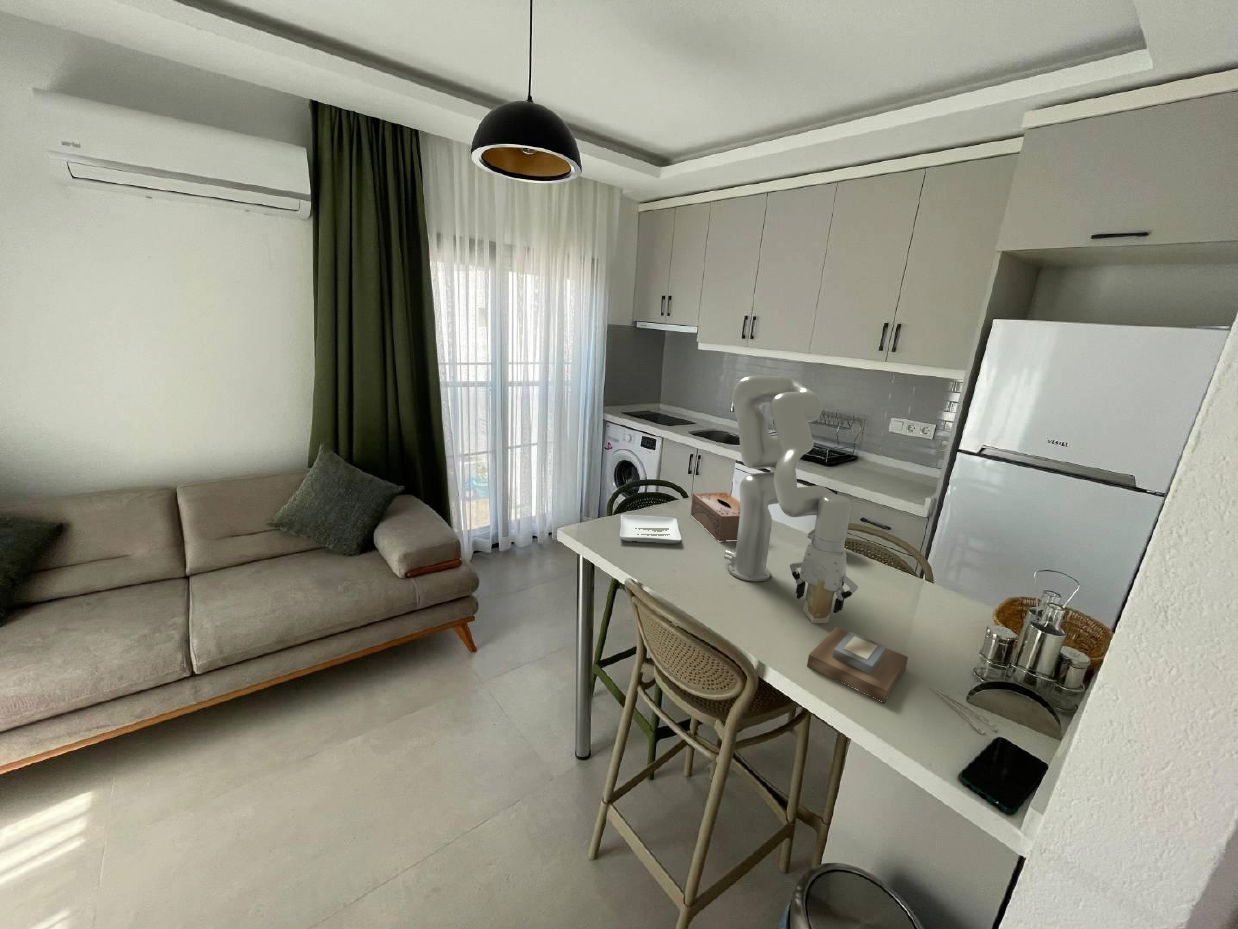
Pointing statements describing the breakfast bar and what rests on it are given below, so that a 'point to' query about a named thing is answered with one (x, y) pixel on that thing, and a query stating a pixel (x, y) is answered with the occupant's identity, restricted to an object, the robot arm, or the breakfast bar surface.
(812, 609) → the skincare box
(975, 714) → the tweezers
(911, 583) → the breakfast bar surface
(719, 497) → the tissue box cover
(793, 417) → the robot arm
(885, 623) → the breakfast bar surface
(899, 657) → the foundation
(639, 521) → the salad plate
